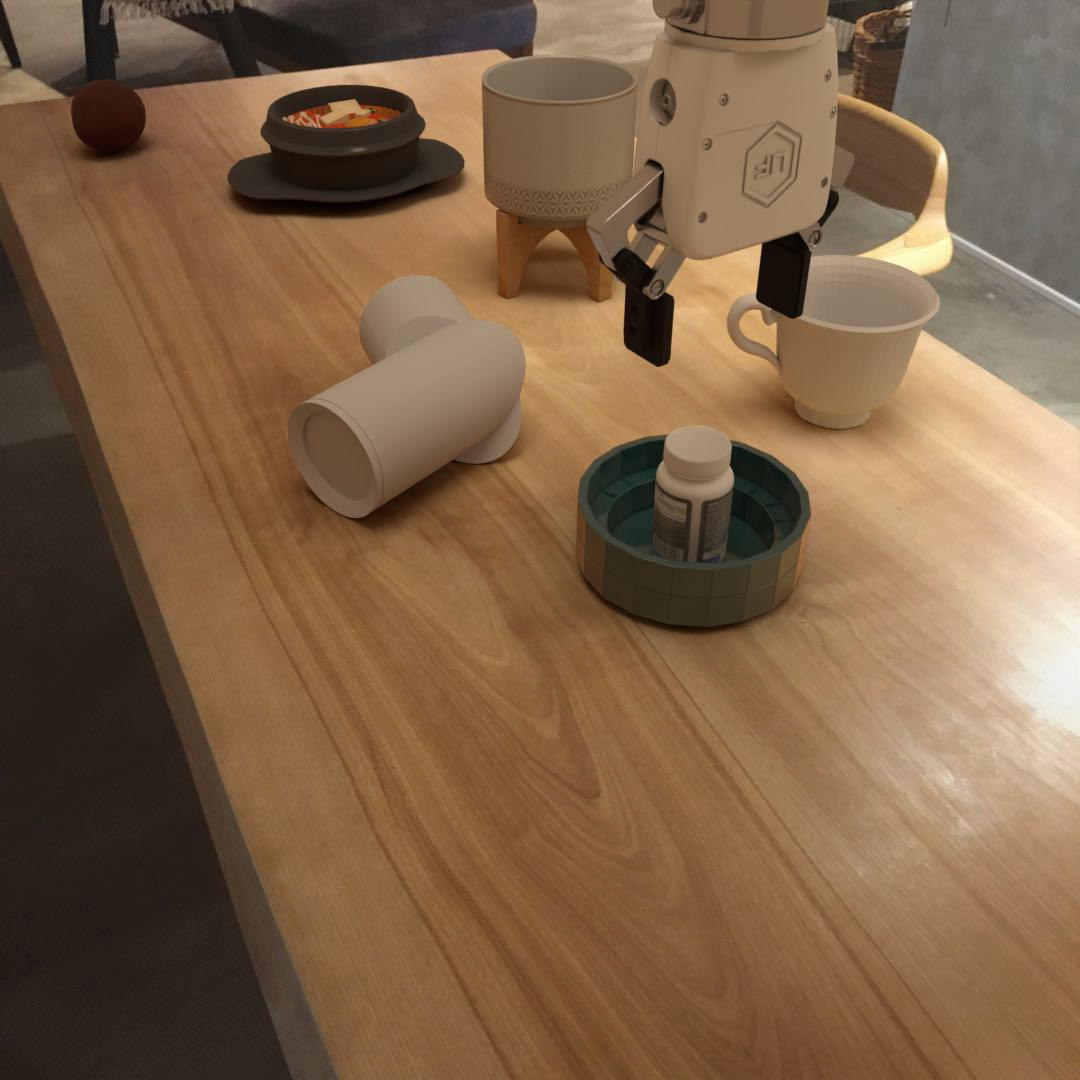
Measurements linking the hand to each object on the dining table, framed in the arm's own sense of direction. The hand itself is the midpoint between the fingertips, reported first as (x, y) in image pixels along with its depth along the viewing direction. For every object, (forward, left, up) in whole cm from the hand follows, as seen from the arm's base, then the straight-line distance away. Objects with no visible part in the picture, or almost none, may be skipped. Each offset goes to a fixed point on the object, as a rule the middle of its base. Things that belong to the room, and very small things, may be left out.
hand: (714, 332), depth 65 cm
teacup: (+11, -19, -17) cm, 27 cm away
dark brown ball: (+94, +13, -17) cm, 96 cm away
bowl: (+1, 0, -17) cm, 17 cm away
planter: (+41, -14, -17) cm, 46 cm away
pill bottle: (0, 0, -16) cm, 16 cm away
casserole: (+71, -6, -17) cm, 73 cm away
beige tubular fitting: (+22, +10, -17) cm, 29 cm away
